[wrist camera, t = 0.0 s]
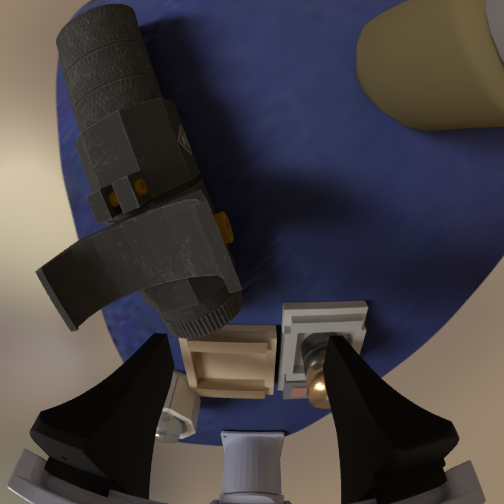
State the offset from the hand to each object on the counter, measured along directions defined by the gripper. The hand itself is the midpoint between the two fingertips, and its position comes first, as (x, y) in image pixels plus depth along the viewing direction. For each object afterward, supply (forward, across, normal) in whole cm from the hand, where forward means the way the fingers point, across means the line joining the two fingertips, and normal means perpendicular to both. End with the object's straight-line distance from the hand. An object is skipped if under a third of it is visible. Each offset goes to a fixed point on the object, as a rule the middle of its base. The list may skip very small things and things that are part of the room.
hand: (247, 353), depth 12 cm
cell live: (+9, -6, +8) cm, 14 cm away
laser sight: (+11, +6, -7) cm, 14 cm away
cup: (+10, +8, +16) cm, 20 cm away
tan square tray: (+10, +2, +10) cm, 14 cm away
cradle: (+10, -6, +8) cm, 14 cm away
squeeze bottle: (+10, -10, -14) cm, 20 cm away
